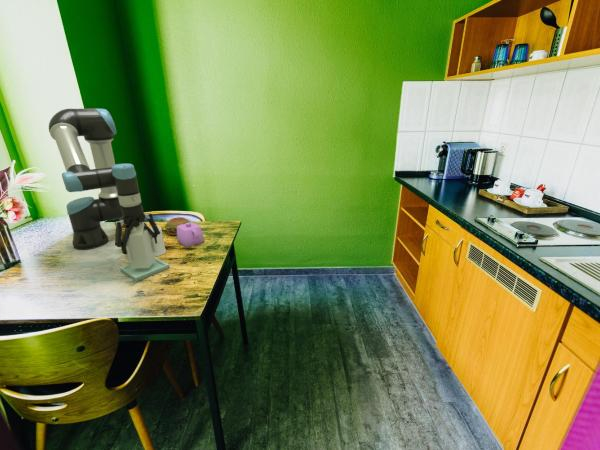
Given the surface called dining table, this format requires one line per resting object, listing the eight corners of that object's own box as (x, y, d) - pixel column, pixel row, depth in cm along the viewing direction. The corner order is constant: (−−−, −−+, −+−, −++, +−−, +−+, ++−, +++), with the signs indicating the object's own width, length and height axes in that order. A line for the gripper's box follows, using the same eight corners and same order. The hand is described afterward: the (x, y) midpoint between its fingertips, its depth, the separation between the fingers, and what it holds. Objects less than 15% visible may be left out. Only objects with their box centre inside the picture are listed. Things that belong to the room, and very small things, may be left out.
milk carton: (138, 261, 131) (129, 219, 124) (155, 260, 132) (147, 219, 125) (131, 269, 125) (121, 225, 118) (149, 268, 125) (140, 225, 118)
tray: (120, 271, 128) (119, 267, 127) (153, 259, 138) (152, 255, 137) (136, 282, 119) (135, 278, 119) (169, 268, 130) (168, 264, 129)
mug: (140, 260, 137) (135, 235, 133) (137, 253, 144) (132, 230, 139) (168, 253, 144) (163, 229, 139) (163, 247, 150) (159, 224, 146)
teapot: (173, 239, 159) (170, 221, 156) (192, 234, 166) (189, 216, 162) (188, 250, 147) (185, 230, 143) (208, 243, 154) (205, 224, 150)
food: (168, 239, 160) (166, 224, 157) (163, 230, 171) (161, 217, 169) (195, 233, 167) (193, 219, 164) (189, 225, 178) (187, 213, 175)
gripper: (103, 213, 108) (117, 268, 116) (163, 199, 125) (172, 248, 132) (95, 209, 112) (109, 263, 120) (154, 196, 129) (163, 244, 137)
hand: (142, 255), depth 126 cm, fingers closed on milk carton, 10 cm apart
